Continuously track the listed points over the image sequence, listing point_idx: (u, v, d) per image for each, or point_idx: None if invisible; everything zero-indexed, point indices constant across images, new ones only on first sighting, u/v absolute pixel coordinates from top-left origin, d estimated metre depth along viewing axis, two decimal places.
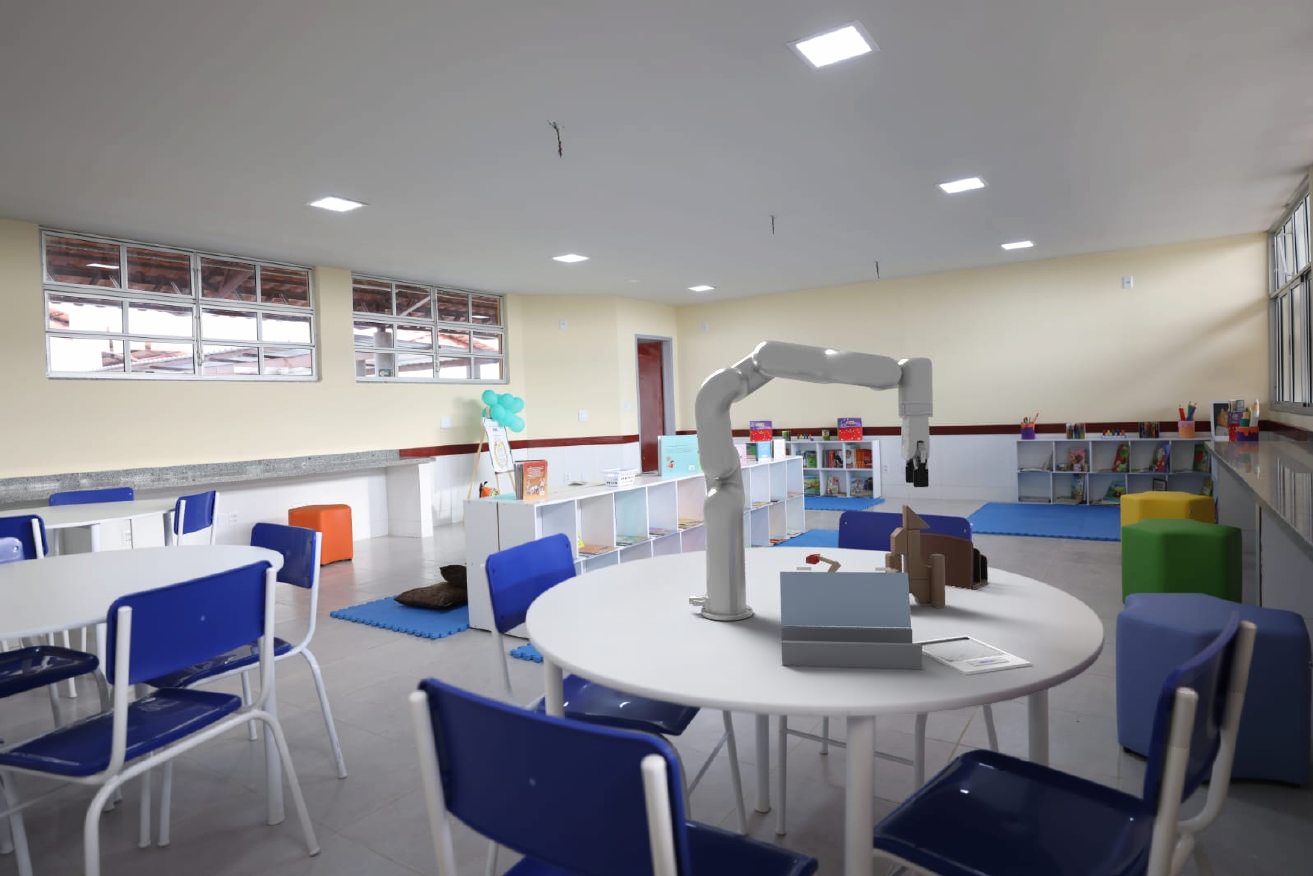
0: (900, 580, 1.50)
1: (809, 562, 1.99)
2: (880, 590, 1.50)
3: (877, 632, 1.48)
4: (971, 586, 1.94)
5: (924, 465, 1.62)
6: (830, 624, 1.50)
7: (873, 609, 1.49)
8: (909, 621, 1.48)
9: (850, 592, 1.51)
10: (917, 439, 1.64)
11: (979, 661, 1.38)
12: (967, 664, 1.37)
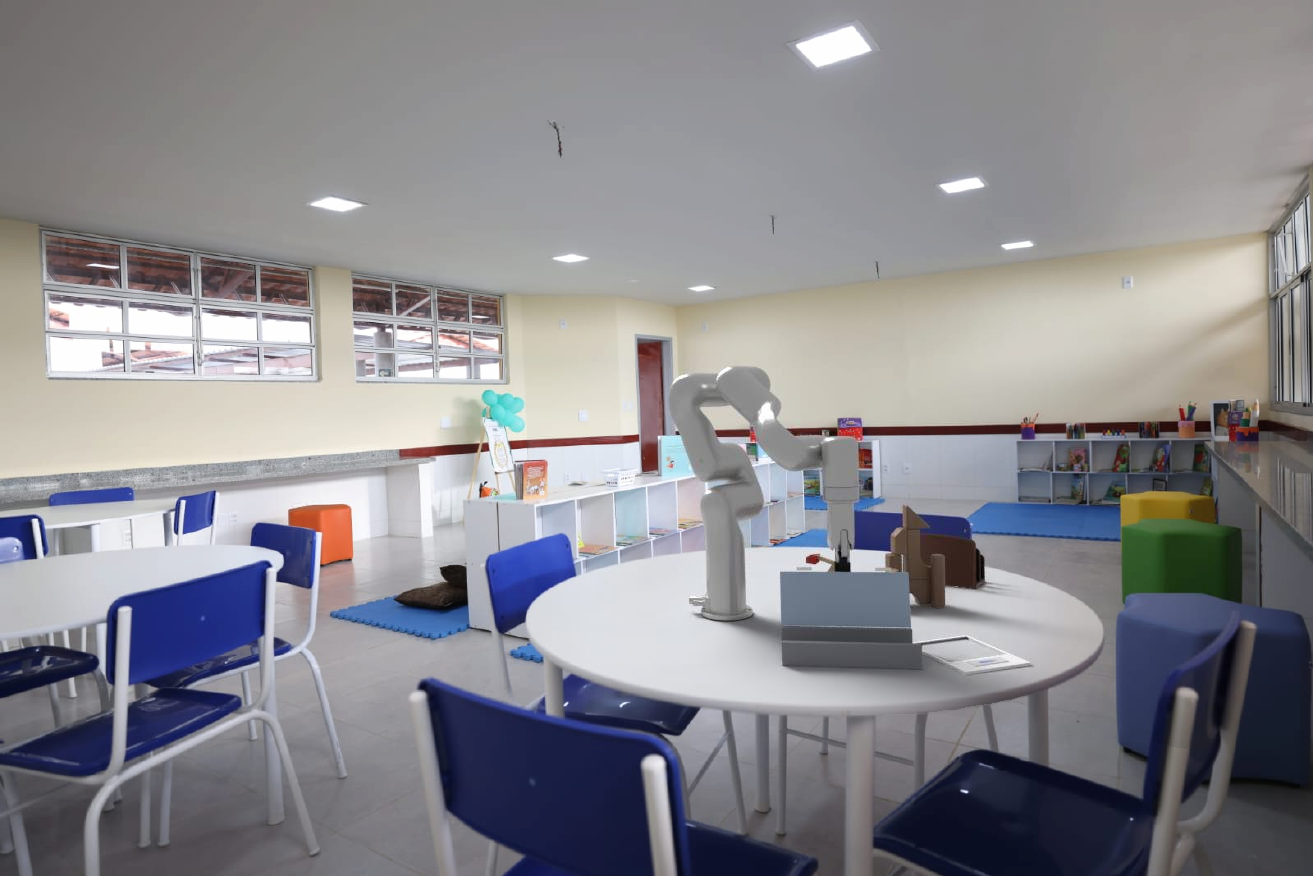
0: (900, 580, 1.49)
1: (809, 562, 1.99)
2: (880, 590, 1.50)
3: (877, 632, 1.48)
4: (974, 585, 1.95)
5: (845, 559, 1.52)
6: (830, 624, 1.50)
7: (873, 609, 1.49)
8: (909, 621, 1.48)
9: (850, 592, 1.50)
10: (841, 528, 1.49)
11: (979, 661, 1.38)
12: (967, 664, 1.37)
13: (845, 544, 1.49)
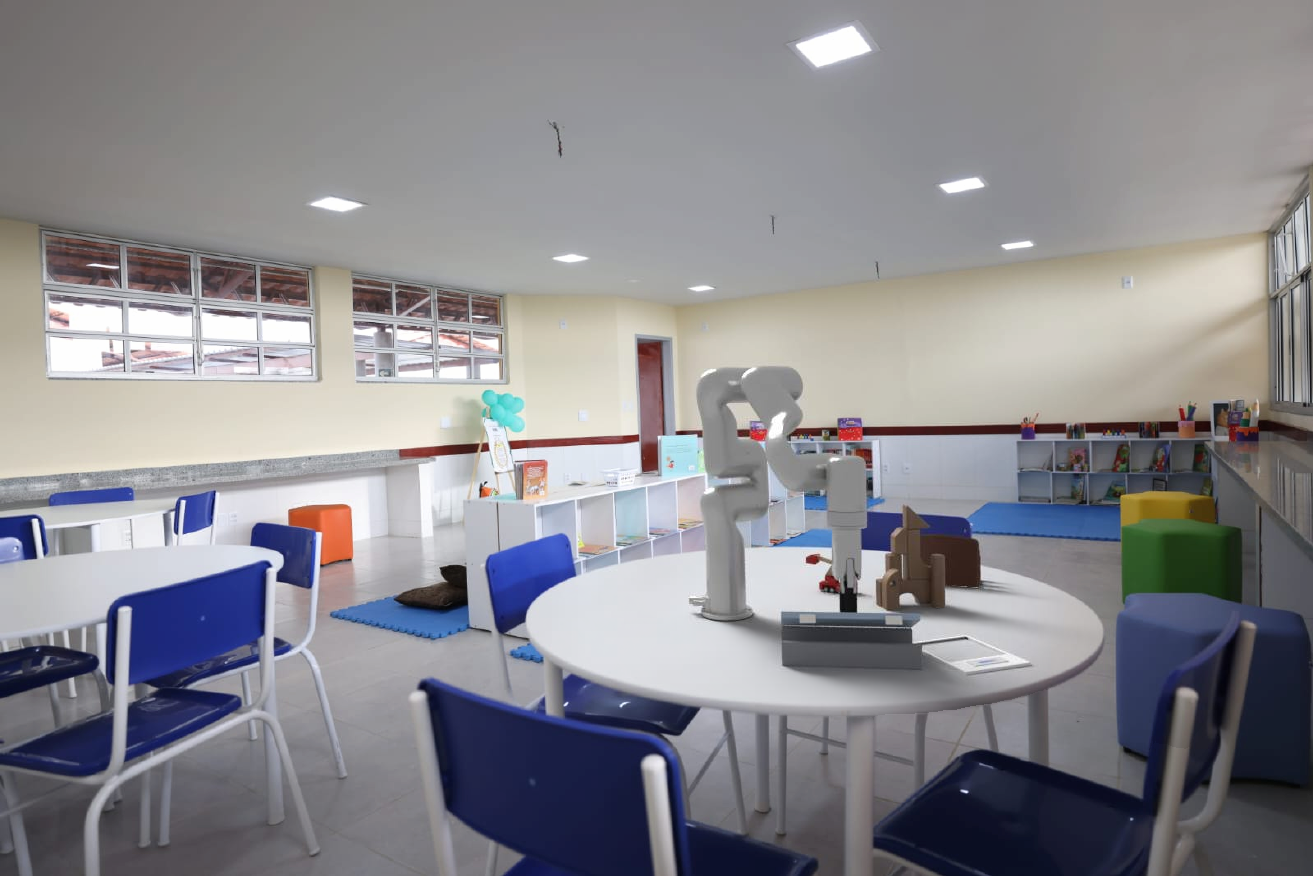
0: (910, 621, 1.39)
1: (809, 562, 1.99)
2: None
3: (877, 632, 1.48)
4: (978, 584, 1.96)
5: (851, 590, 1.39)
6: None
7: (876, 624, 1.46)
8: (910, 626, 1.47)
9: (855, 622, 1.43)
10: (846, 556, 1.37)
11: (979, 661, 1.38)
12: (967, 664, 1.37)
13: (851, 574, 1.37)
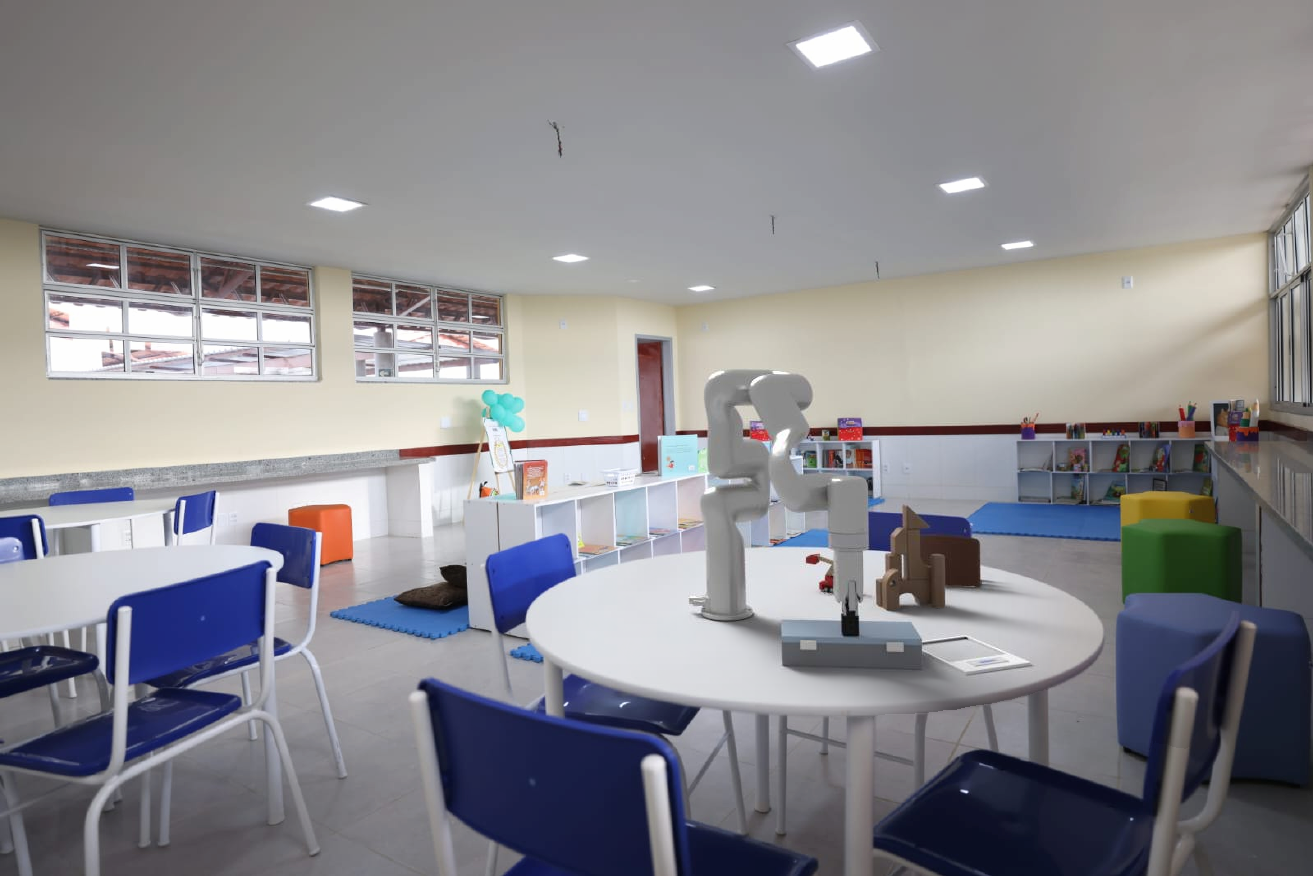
0: None
1: (809, 562, 1.99)
2: None
3: None
4: (979, 584, 1.97)
5: (853, 612, 1.38)
6: None
7: None
8: None
9: None
10: (848, 579, 1.35)
11: (979, 661, 1.38)
12: (967, 664, 1.37)
13: (853, 597, 1.35)
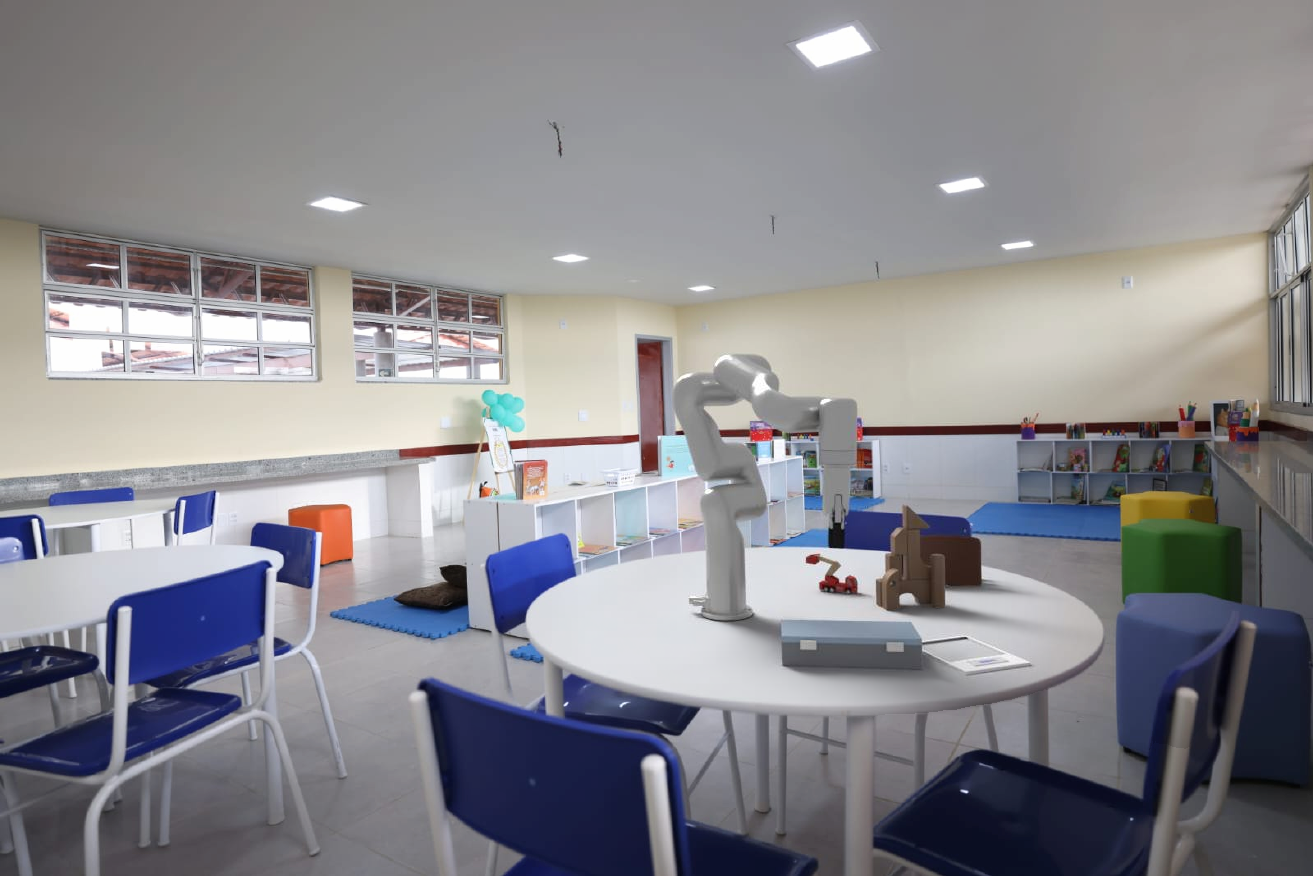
0: None
1: (809, 562, 1.99)
2: None
3: None
4: (980, 583, 1.98)
5: (839, 525, 1.47)
6: None
7: None
8: None
9: None
10: (835, 492, 1.44)
11: (979, 661, 1.38)
12: (967, 664, 1.37)
13: (839, 509, 1.44)
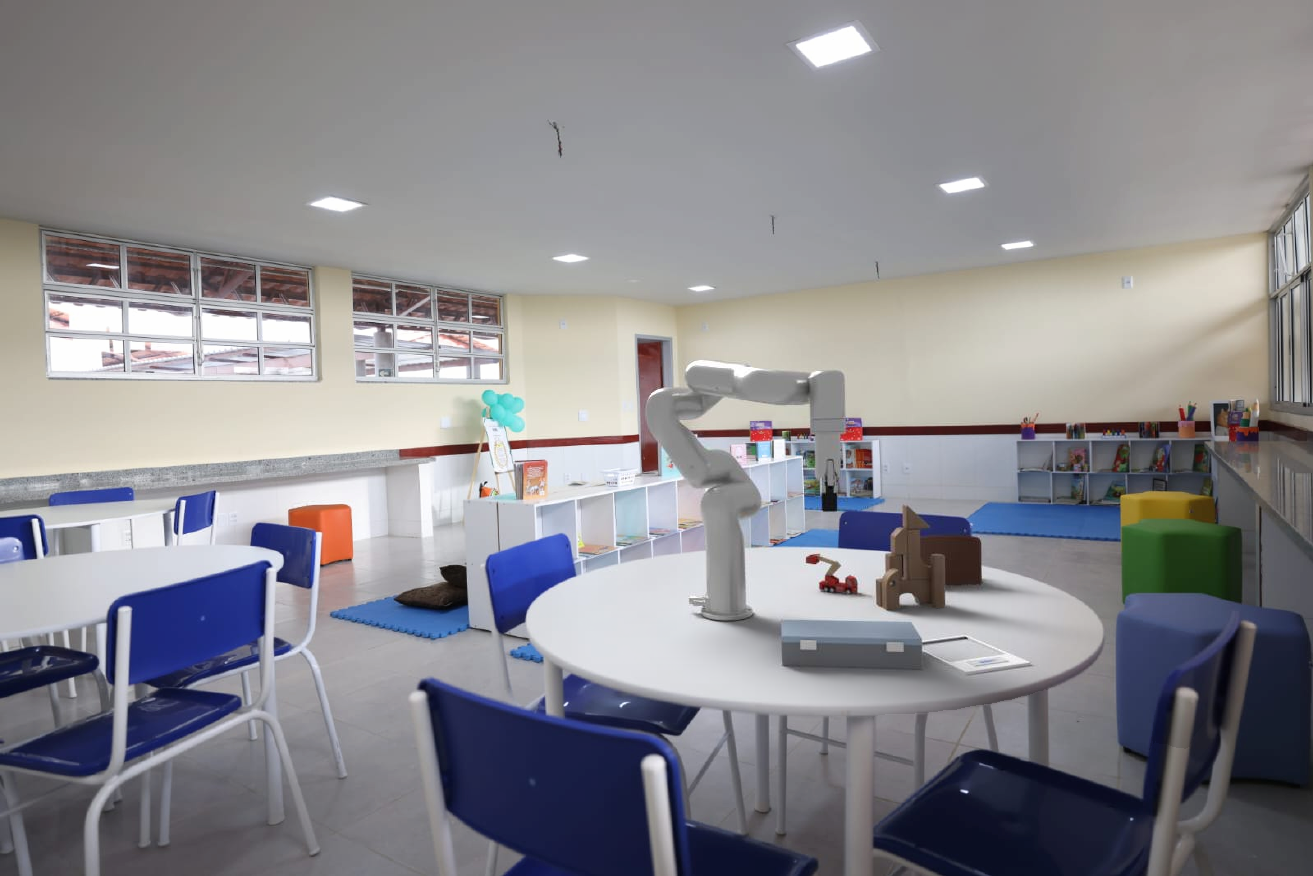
0: None
1: (809, 562, 1.99)
2: None
3: None
4: (981, 582, 1.99)
5: (832, 489, 1.56)
6: None
7: None
8: None
9: None
10: (827, 457, 1.54)
11: (979, 661, 1.38)
12: (967, 664, 1.37)
13: (831, 473, 1.54)
